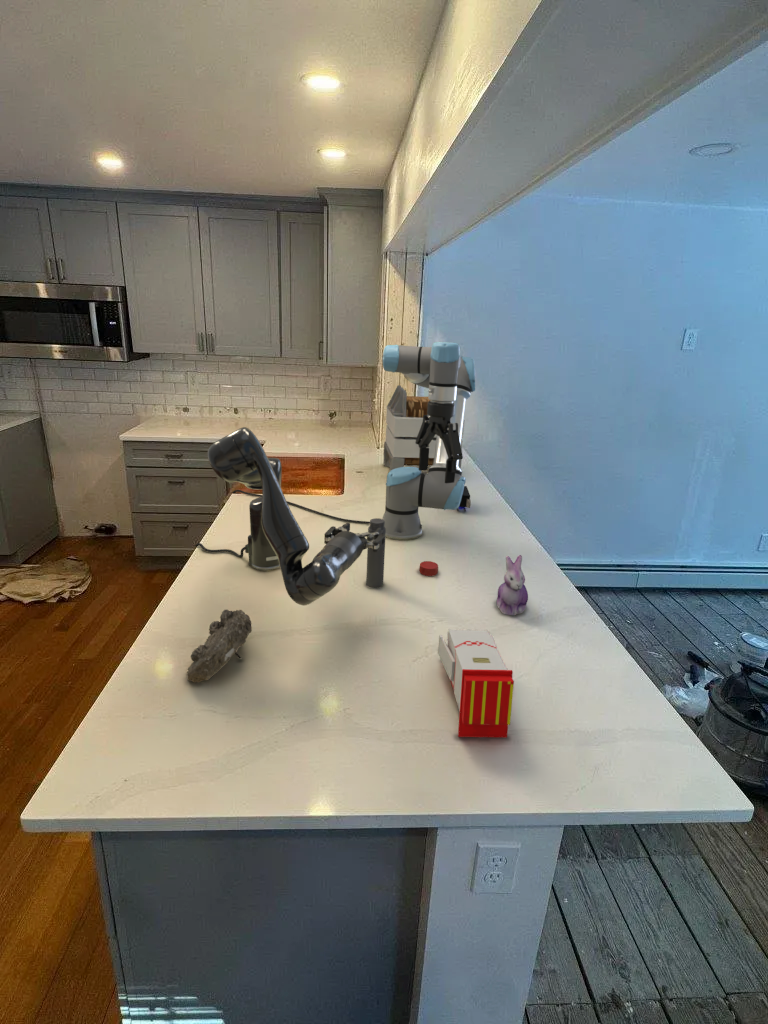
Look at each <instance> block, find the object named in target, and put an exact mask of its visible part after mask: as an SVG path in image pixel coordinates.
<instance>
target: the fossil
mask: <svg viewBox="0 0 768 1024" xmlns="http://www.w3.org/2000/svg"><path fill="white" fill-rule="evenodd" d="M219 619H220V620H216V621H213V622H211V623H210V624H209V629H208V631H209V632H208V634H209V635H208V636H207V638H206V640H205V642H204V643H203V644H199V645H198V646H197V648H195V649H193V650H192V652H191V654H190V659H191V661H192V663H191V664H190V666H188V667H187V668H186V669H187V671H186V676H187V681H192V682H193V683H200V682H204V681H208V680H210V679H211V678H212V677H213V676H214V675H216V673H218V672H219V671H220V670H221V669H222V668H223V667H224V666H225V665H226V664H227V663H229V662H230V660H231V658H232V657H233V656H234V655H235V656H236V657H237V658H238V659H239V660H241V659H242V656H241V655H240V654H239V653H238V650H239V649H240V647H244V646H243V645H245V643H246V642H247V639H248V637H249V635H250V634H251V633H252V631H253V627H252V624H253V623H252V620H251V618H250V616H249V614H248V613H245V612H244V611H243V610H242V609H235V610H229V609H223V610H222V611H221V613H220V616H219Z"/></svg>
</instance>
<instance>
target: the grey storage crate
mask: <svg viewBox="0 0 768 1024" xmlns="http://www.w3.org/2000/svg"><path fill="white" fill-rule="evenodd" d="M407 394H408V393H407V390H406V389H404V388H403V387H402V385H399V384H398V385H397V386H396V388H395V390H394V392H393V394H392V395H391V398H390V400H389V402H388V404H387V405H386V413H385V414H386V415H385V423H386V428H385V438H384V442H383V466H384V467H388V468H389V472H390V471H391V470H393V469H396V468H400V467H405V466H406V467H417V466H418V467H419V453H420V448H419V445H418V444H416V443H415V442H416V439H417V436H418V433H419V430H420V428H421V425H422V422H423V416H424V415H428V414H427V407H428V402H429V401H430V400H429V399H428V396H415V395H414V396H413V395H412V396H411V395H407ZM464 429H465V419H464V418H463V428H462V437H461V450H462V451H463V442H464V441H463V440H462V439H463V438H464V431H465V430H464ZM436 437H437V435H435V436H434V438H433V439H432V441H431V442H430V444H429V447H426V448H429V460H428V467H431V466H432V465H433V463H434V454H435V446H436ZM420 440H422V439H420ZM462 459H463V458H462ZM462 459H459V465H458V467H459V468H460V470H461V471H462V461H463V460H462Z"/></svg>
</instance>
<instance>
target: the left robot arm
mask: <svg viewBox="0 0 768 1024" xmlns="http://www.w3.org/2000/svg"><path fill="white" fill-rule="evenodd" d="M207 459H208V463H209V465H210V468H211V469H212V470H213V471H214V473H215V474H216V475H217V476H218V477H219V478H220V479H222V481H224V482H227V483H229V484H231V483H236V482H237V483H239V484H242V485H244V486H245V487H246V488H247V489H249V490H257V491H259V490H261V491H262V492H261V493H262V494H261V495H262V497H259V496H258V497H256V498H254V499H253V500H251V501H250V502H249V530H250V534H249V535H248V536H247V543H246V544H245V545H244V546H243V547H242V548H241V549H240V554H238V553H237V552H235V551H234V550H232V549H228V548H227V549H226V548H222V549H221V548H220V549H208V548H206V547H205V546H204V545H203V543H201V542H198V543H196V544H195V545H194V547H196V548H198V547H200V548H201V549H202V550H203V551H204V552H206V553H230V554H232V555H234V556H235V557H237V558H239V559H241V558H243V557H244V551H245V553H246V554H248V566H249V567H251V568H253V569H254V570H257V571H263V572H267V571H268V572H269V571H274V570H277V569H279V568H280V571H281V576H282V581H283V584H284V587H285V591H286V593H287V595H288V596H289V598H290V599H291V600H292V601H293V602H294V603H296V604H297V605H299V606H304V607H305V606H308V605H311V604H313V603H314V602H315V601H317V600H319V599H320V598H322V597H323V596H324V595H327V594H328V593H330V592H331V591H332V590H333V589H335V587H337V585H338V584H339V582H340V578H341V576H342V575H343V574H344V573H345V572H346V571H347V570H348V569H350V568H351V566H352V565H353V564H354V563H355V562H356V561H357V560H358V559H359V557H361V555H362V553H363V551H364V550H367V549H368V548H372V549H373V552H378V551H379V550H380V549H381V548H382V547H383V546H384V545H385V546H386V537H385V535H384V534H383V530H381V528H378V529H377V530H376V531H375V532H374V533H369V532H368V531H366V532H361V533H360V532H359V533H355V532H352V531H351V522H346V523H344V524H342V525H341V526H338V527H337V528H336V526H334V525H332V526H330V527H329V528H328V530H326V532H325V533H323V535H324V536H323V538H324V540H323V541H324V544H325V545H324V546H323V547H322V549H321V550H320V551H319V552H318V553H317V554H315V556H314V557H313V559H312V560H311V561H310V562H309V563H308V564H307V565H305V566H303V561H302V560H303V557H304V556H305V555H306V554H307V552H308V551H309V549H310V543H309V541H308V539H307V537H306V535H305V534H304V532H303V530H302V529H301V526H300V525H299V523H298V522H297V520H296V518H295V516H294V513H293V512H292V510H291V508H290V506H289V504H288V503H287V499H286V496H285V495H284V492H283V489H282V481H283V479H282V478H283V469H282V468H283V466H282V462H281V459H280V458H278V457H268V455H267V453H266V451H265V449H264V447H263V446H262V443H261V442H260V440H259V439H258V437H257V436H256V434H255V433H254V432H253V431H252V430H251V429H250V428H249V427H247V426H246V427H245V426H243V427H241V428H238V429H236V430H234V431H232V432H231V433H229V434H226V435H225V436H223V437H222V438H220V439H218V440H216V441H215V442H212V444H211V445H210V446H209V447H208V449H207ZM372 537H374V540H372Z"/></svg>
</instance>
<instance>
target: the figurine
mask: <svg viewBox="0 0 768 1024" xmlns="http://www.w3.org/2000/svg"><path fill="white" fill-rule="evenodd" d="M522 562H523V555H522V554H519V555H518V556H517V557H516V559H515V561H513V560H512V558H511V556H509V555H506V556H505V566H506V567H505V569H506V571H505V573H504V576H503V581H504V582H502V584H500V585H499V586H498V589H497V598H496V607H497V608H498V610H500V612H501V614H503V615H508V616H516V615H518V614H523V612H524V611H525V610H526V607H527V603H528V601H529V594H528V590H527V587H526V585H525V583H526V576H525V574H524V571H523V569H522V564H523V563H522Z"/></svg>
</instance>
